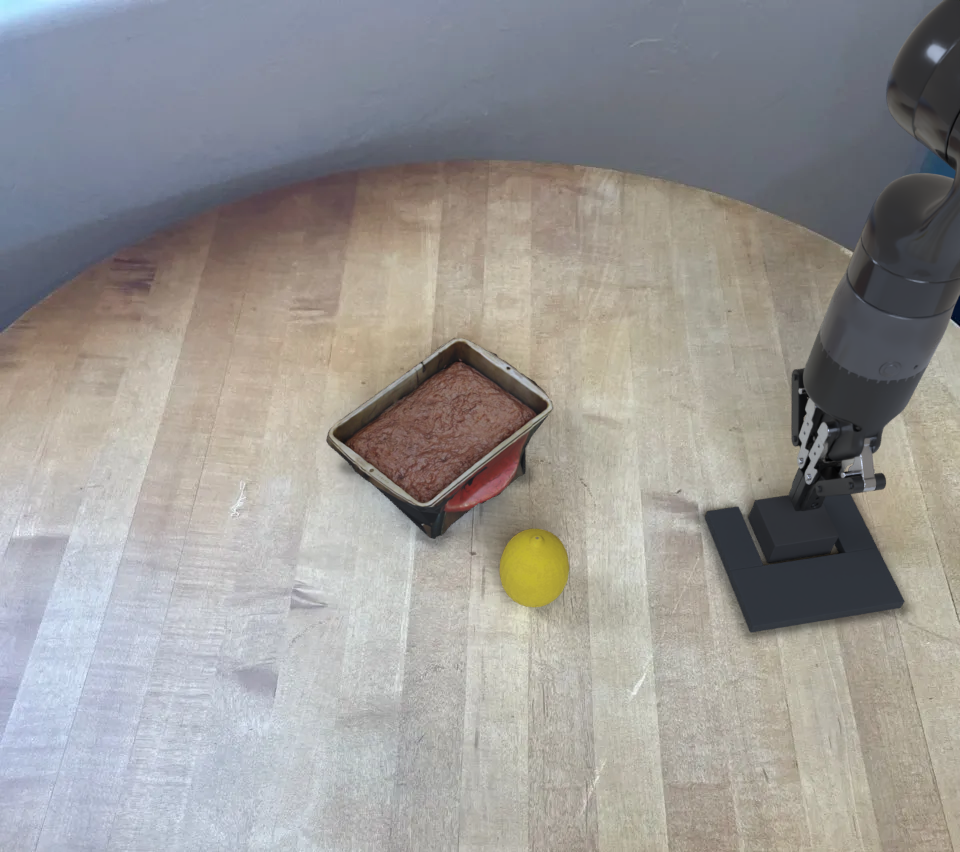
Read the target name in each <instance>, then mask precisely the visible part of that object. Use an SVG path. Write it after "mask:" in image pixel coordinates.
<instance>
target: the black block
mask: <svg viewBox="0 0 960 852" xmlns="http://www.w3.org/2000/svg"><path fill="white" fill-rule="evenodd" d="M788 495H789V494H786V495H779V496H773V497H766V498H759V499H754V501H753V504H752V507H751V508H750V512H749V515H748V517H747V519H748V522H749V525H750V526H751V529H752V531H753V533H754V535H755V538H756V540H757V542H758V546H759V548H760V550H761V552H762V555H763V556H764V559H765V561H766V563H767V565H770V564H776V563H782V562H789V561H795V560H801V559H807V558H814V557H820V556H826V555H831V552H832V550H833V548H834V547H835V542H836V540H837V539H838V537H839V535H838V533H837V531H836V529H835V527H834V525H833V523H832V521H831V519H830V517H829V515H828V513H827V511H826V509H825V507H824V505H823V504H822V506H821V507H820V508H819V509H813V510H807V511H795V509H794V507H793V505H792V503H791V501H790V499H789V496H788Z"/></svg>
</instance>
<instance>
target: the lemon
mask: <svg viewBox="0 0 960 852" xmlns="http://www.w3.org/2000/svg"><path fill="white" fill-rule="evenodd" d="M569 574H570V561H569V555H568V552H567V549H566V547H565V545H564V543H563V542H562V541H561V539H560V538H559V537H558V536H557V535H556V534H554V533H553V532H552V531H549V530H546V529H543V528H527V529H524V530H521V531H520V532H518V533H516V534H515V535H513V536H512V538H511V539H509V540H508V542H507V544H506V545H505V547H504V549H503V552H502V554H501V556H500V560H499V579H500V583H501V586H502V588H503V590H504V592H505V593H506V595H507V596H508V597H509V599H511V600H512V601H513V602H515V603H517V604H518V605H521V606H523V607H527V608H541V607H544V606H548V605H550V604H551V603H553V602H554V601H555V600H556V599H557V598H559V597H560V595H561V594H562V593H563V591H564V589H565V587H566V585H567V583H568V580H569Z"/></svg>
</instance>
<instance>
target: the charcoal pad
mask: <svg viewBox="0 0 960 852" xmlns="http://www.w3.org/2000/svg"><path fill="white" fill-rule="evenodd" d="M823 505H824V507H825V509H826V511H827V513H828V515H829V517H830V519H831V521H832V523H833V525H834V527H835V529H836V531H837V533H838V535H839V537H838V539H837V540H836V542H835V544H834V547H835V548H836V550H837V552H838V553H833V554H826V555H820V556H813V557H807V558H801V559H794V560H788V561H782V562H775V563H769V564H764V563H763V561H762V559H761V556H760V554H759V551H758V549H757V547H756V543H755V541H754V540H753V538H752V537H753V536H752V535H751V533H750V530H749V528H748V525H747V523H746V520H745V518H744V516H743V514H742V512H741V511H742V510H741V508H740V507H739V506H732V507H731V506H730V507H725V508H718V509H711V510H707V511H706V513H705V515H704V521H705V523H706V525H707V528H708V531H709V533H710V535H711V538H712V540H713V543H714V546H715V548H716V551H717V553H718V555H719V558H720V561H721V564H722V566H723V568H724V570H725V573H726V576H727V578H728V580H729V583H730V586H731V589H732V590H733V594H734V595H735V598H736V601H737V603H738V605H739V608H740V611H741V613H742V616H743V619H744V622H745V623H746V626H747V628H748V631H749V633H751V634H752V633H757V632H762V631H771V630H775V629H781V628H787V627H788V628H789V627H794V626H799V625H800V626H801V625H807V624H812V623H818V622H823V621H830V620H836V619H843V618H847V617H848V618H849V617H854V616H861V615H866V614H872V613H879V612H884V611H890V610H896V609H897V610H899V609H901V608H902V607H903V605H904V604H905V600H904V598H903V595H902V593H901V592H900V590H899V587H898V585H897V584H896V581H895V580H894V577H893V575H892V573H891V572H890V569H889V568H888V567H889V566H888V565H887V563H886V562H885V559H884V558H883V556H882V554H881V551H880V549H879V547H878V545H877V544H876V542H875V540H874V538H873V536H872V533H871V532H870V530H869V528H868V525H867V524H866V522H865V520H864V518H863V515H862V514H861V512H860V510H859V508H858V506H857V504H856V502H855V500H854V498H853V496H852V494H848V495H836V496H826V498H825V500H824V502H823Z"/></svg>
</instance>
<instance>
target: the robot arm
mask: <svg viewBox="0 0 960 852" xmlns="http://www.w3.org/2000/svg"><path fill="white" fill-rule="evenodd" d="M886 81H887V82H886V89H885V101H886V105H887V108H888V112H889V113H890V116H891V118H892V119H893V120H894V121H895V123H896V124H897V125H898V126H899V127H901V129H903V130H904V131H905V132H906V133H907V134H909V135H910V136H911V137H912V138H913V139H915V140H916V141H917V142H919V143H920V144H921V145H923V146H924V147H925V148H926V149H928V150H929V151H930V152H931V153H933V154H934V155H935V156H937V158H939V159H940V160H941V161H943V162H944V163H945V164H946V165H947V166H948V167H950V168H951V169H952V170H954V171H955V173H954V178H953V177H950V176H945V175H943V174H936V173H929V172H921V173H920V172H919V173H918V172H917V173H909V174H907V175H902V176H900V177H898V178H896V179H894V180H893V181H891V182H889V183H888V184H886V186H885V187H883V189H881V191H880V193H879V194H878V195H877V197H876V198H875V200H874V202H873V204H872V206H871V208H870V210H869V212H868V215H867V218H866V220H865V222H864V224H863V227H862V229H861V232H860V234H859V237H858V240H857V243H856V245H855V248H854V250H853V252H852V255H851V258H850V260H849V263H848V266H847V268H846V270H845V271H844V274H843V276H842V277H841V279H840V281H839V283H838V284H837V286H836V288H835V290H834V292H833V294H832V297H831V299H830V302H829V304H828V307H827V308H826V312H825V315H824V317H823V319H822V322H821V324H820V327H819V330H818V332H817V335H816V336H815V340H814V343H813V345H812V348H811V350H810V353H809V356H808V358H807V361H806V364H805V366H804V367H803V368H796V369H793V370H792V372H791V409H790V410H791V412H790V413H791V415H790V416H791V424H790V425H791V427H790V428H791V433H790V434H791V436H790V437H791V439H790V440H791V444H792V446H793V447H794V448H795V447H799V450H798V453H797V457H796V463H797V467H798V468H797V470H796V472H795V475H794V477H793V480H792V483H791V487H790V490H789V493H788V494H787V495H788V496H789V499H790V501H791V503H792V505H793V507H794V509H795V511H807V510H813V509H819V508H820V507H821V506H822V504H823V502H824V500H825V498H826V496H836V495H848V494H851V495H855V494H861V493H868V492H875V491H882V490H885V488H886V486H887V477H886V475H885V474H884V473H883V472H876V470H875V466H874V457H873V455H874V454H875V453H877V452H878V451H879V449H880V447H881V445H882V439H883V432H884V429H885V427H886V426H887V425H888V424H889V423H890V422H891V421H893V420H894V419H895V418H897V416H899V415H900V414H901V413H902V412H904V410H905V409H906V407H907V406H908V405H909V402H910V400H911V398H912V397H913V395H914V393H915V391H916V389H917V387H918V385H919V384H920V381H922V378H923V376H924V374H925V372H926V370H927V368H928V366H929V364H930V362H931V361H932V359H933V356H934V355H935V353H936V351H937V349H938V347H939V346H940V343H941V342H942V339H943V338H944V335H945V333H946V331H947V329H948V327H949V324H950V321H951V318H952V315H953V312H954V309H955V306H956V304H957V302H958V300H959V297H960V0H941V1H940V2H939V3H938V4H937V5H935V7H934V8H932V9H931V10H930V11H929V12H928V13H927V14H925V16H924V17H923V18H922V19H921V20H920V21H919V22H918V23H917V25H916V26H915V27H914V28H913V30H912V31H911V32H910V33H909V35H908V36H907V38H906V39H905V41H904V42H903V43H902V46H901V47H900V49H899V50H898V52H897V54H896V56H895V58H894V61H893V63H892V65H891V67H890V71H889V73H888V78H887V80H886ZM847 468H848V469H847Z"/></svg>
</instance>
